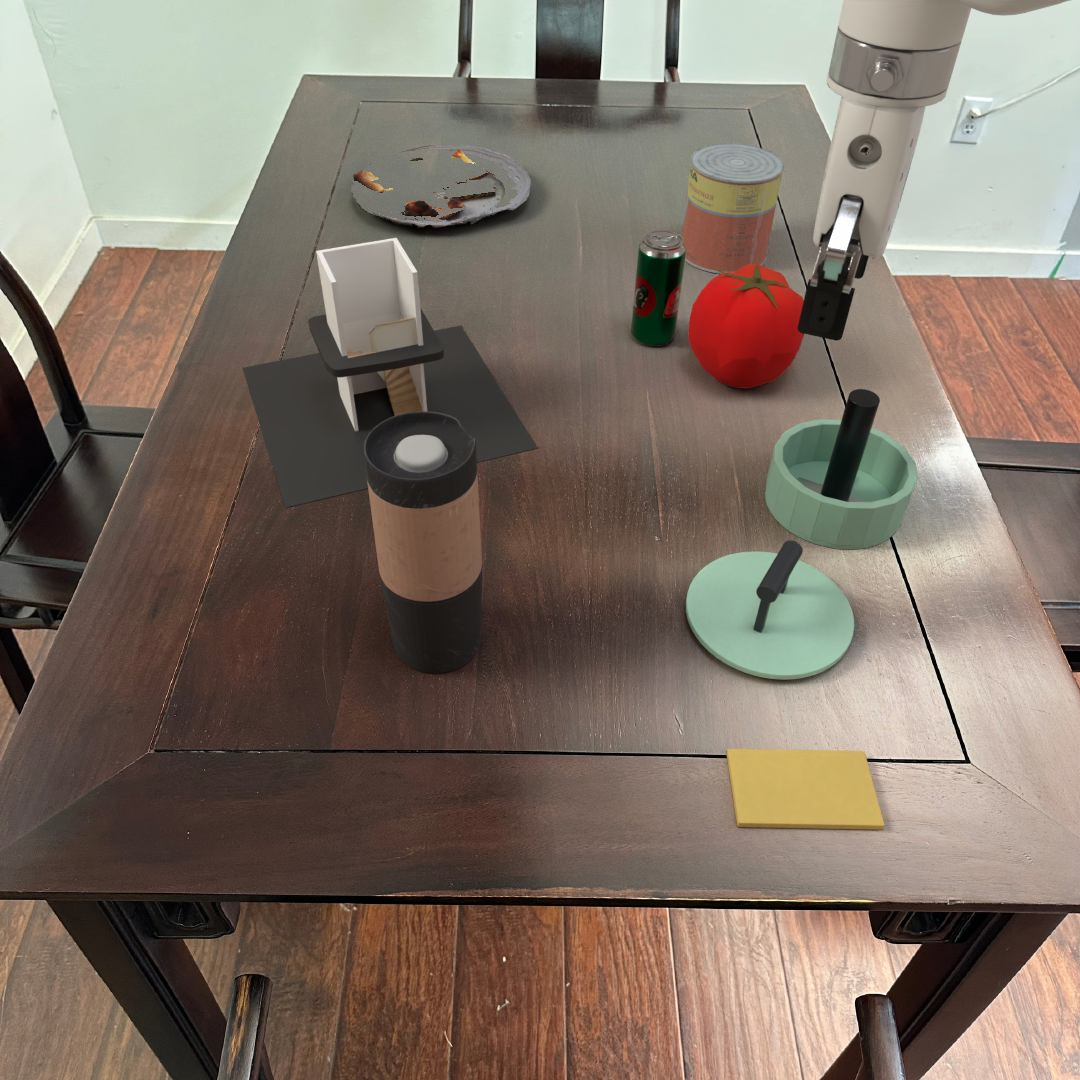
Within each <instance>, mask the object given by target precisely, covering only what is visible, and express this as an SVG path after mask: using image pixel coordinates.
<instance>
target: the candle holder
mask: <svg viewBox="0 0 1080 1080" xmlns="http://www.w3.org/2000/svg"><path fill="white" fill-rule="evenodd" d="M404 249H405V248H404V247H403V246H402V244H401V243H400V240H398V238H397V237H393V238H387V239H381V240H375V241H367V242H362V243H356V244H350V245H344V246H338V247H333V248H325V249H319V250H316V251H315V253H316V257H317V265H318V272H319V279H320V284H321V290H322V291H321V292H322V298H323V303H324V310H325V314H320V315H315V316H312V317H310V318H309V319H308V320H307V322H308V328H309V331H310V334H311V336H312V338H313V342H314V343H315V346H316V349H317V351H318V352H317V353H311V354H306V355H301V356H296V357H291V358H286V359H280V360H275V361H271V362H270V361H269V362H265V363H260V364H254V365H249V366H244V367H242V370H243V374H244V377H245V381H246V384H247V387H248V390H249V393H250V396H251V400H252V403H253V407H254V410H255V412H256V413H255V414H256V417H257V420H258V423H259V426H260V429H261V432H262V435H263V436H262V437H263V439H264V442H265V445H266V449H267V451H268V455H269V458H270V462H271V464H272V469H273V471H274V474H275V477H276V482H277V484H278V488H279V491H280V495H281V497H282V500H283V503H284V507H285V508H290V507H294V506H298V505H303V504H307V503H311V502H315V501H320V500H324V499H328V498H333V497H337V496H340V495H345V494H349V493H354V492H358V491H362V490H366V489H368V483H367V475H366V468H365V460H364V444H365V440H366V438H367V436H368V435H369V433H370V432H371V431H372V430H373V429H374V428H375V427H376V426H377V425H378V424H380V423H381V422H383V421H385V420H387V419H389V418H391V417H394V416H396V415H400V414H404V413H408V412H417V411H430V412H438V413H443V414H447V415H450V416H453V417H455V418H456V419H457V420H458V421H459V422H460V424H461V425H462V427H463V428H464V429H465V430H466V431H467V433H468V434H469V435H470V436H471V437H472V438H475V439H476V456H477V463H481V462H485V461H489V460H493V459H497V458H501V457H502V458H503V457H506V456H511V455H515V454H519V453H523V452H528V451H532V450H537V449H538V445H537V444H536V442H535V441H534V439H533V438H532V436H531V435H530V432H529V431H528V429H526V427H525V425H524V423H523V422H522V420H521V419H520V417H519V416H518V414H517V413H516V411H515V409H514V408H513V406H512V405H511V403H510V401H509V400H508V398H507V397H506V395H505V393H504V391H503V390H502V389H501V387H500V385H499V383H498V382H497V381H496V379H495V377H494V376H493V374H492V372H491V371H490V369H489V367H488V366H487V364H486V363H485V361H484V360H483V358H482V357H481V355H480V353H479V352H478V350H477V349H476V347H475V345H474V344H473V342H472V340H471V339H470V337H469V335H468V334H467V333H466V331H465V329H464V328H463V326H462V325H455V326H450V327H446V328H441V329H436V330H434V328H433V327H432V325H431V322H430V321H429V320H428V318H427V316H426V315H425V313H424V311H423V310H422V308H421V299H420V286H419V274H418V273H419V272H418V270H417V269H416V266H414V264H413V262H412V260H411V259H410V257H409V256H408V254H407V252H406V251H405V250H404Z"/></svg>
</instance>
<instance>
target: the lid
mask: <svg viewBox="0 0 1080 1080" xmlns="http://www.w3.org/2000/svg"><path fill="white" fill-rule="evenodd" d="M803 552H804V549H803V547H802V544H800V543H799V542H797V541H796V540H786V541H784V543H783V544H782V545H781V547H780V549H779V551H778V552H777V553H776V552H769V551H758V550H757V551H755V550H754V551H742V552H736V553H731V554H727V555H724V556H721V557H719V558H716V559H714V560H712V561H710V563H708V564H707V565H705V566H703V568H701V569H700V570H699V571H698V572H697V574H696V575H695V576H694V577H693V579H692V580H691V583H690V584H689V587H688V589H687V592H686V599H685V614H686V619H687V622H688V624H689V628H690V629H691V631H692V633H693V634H694V636H695V638H696V639H697V640H698V642H699V643H700V644H701V646H703V647H704V648H705V649H706V650H707V652H708V653H710V654H711V655H713V656H714V657H715V658H716V659H717V660H719V661H720V662H722V663H723V664H725V665H727V666H729V667H731V668H733V669H735V670H737V671H740V672H742V673H744V674H748V675H752V676H755V677H758V678H765V679H770V680H783V681H784V680H797V679H805V678H808V677H813V676H815V675H818V674H820V673H823V672H825V671H826V670H828V669H830V668H831V667H833V666H834V665H836V663H838V662H839V661H840V660H841V659H842V658H843V657H844V655H845V654H846V653H847V651H848V650H849V648H850V646H851V642H852V640H853V637H854V631H855V617H854V612H853V609H852V607H851V605H850V602H849V600H848V599H847V597H846V595H845V594H844V592H843V591H842V589H841V588H840V587H839V586H838V585H837V584H836V582H834V581H833V580H832V579H831V578H830V577H829V576H828V575H827V574H825V573H824V572H822V571H820V569H818V568H816V567H814V566H813V565H811V564H809V563H807V562H805V561H802V560H800V558H801V557H802V555H803Z"/></svg>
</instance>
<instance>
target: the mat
mask: <svg viewBox="0 0 1080 1080" xmlns="http://www.w3.org/2000/svg"><path fill="white" fill-rule="evenodd" d="M726 761H727V767H728V774H729V779H730V787H731V793H732V799H733V807H734V813H735V821H736V827H737V828H767V829H768V828H770V829H771V828H772V829H773V828H774V829H775V828H776V829H777V828H778V829H826V830H829V829H830V830H831V829H832V830H875V831H876V830H878V831H879V830H883V829H884V828H885V822H884V817H883V814H882V811H881V806H880V803H879V799H878V795H877V792H876V788H875V783H874V781H873V777H872V773H871V770H870V766H869V762H868V759H867V754H866V752H865V751H864V750H830V749H829V750H825V749H822V750H821V749H776V748H775V749H770V748H768V749H767V748H727V749H726Z"/></svg>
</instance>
